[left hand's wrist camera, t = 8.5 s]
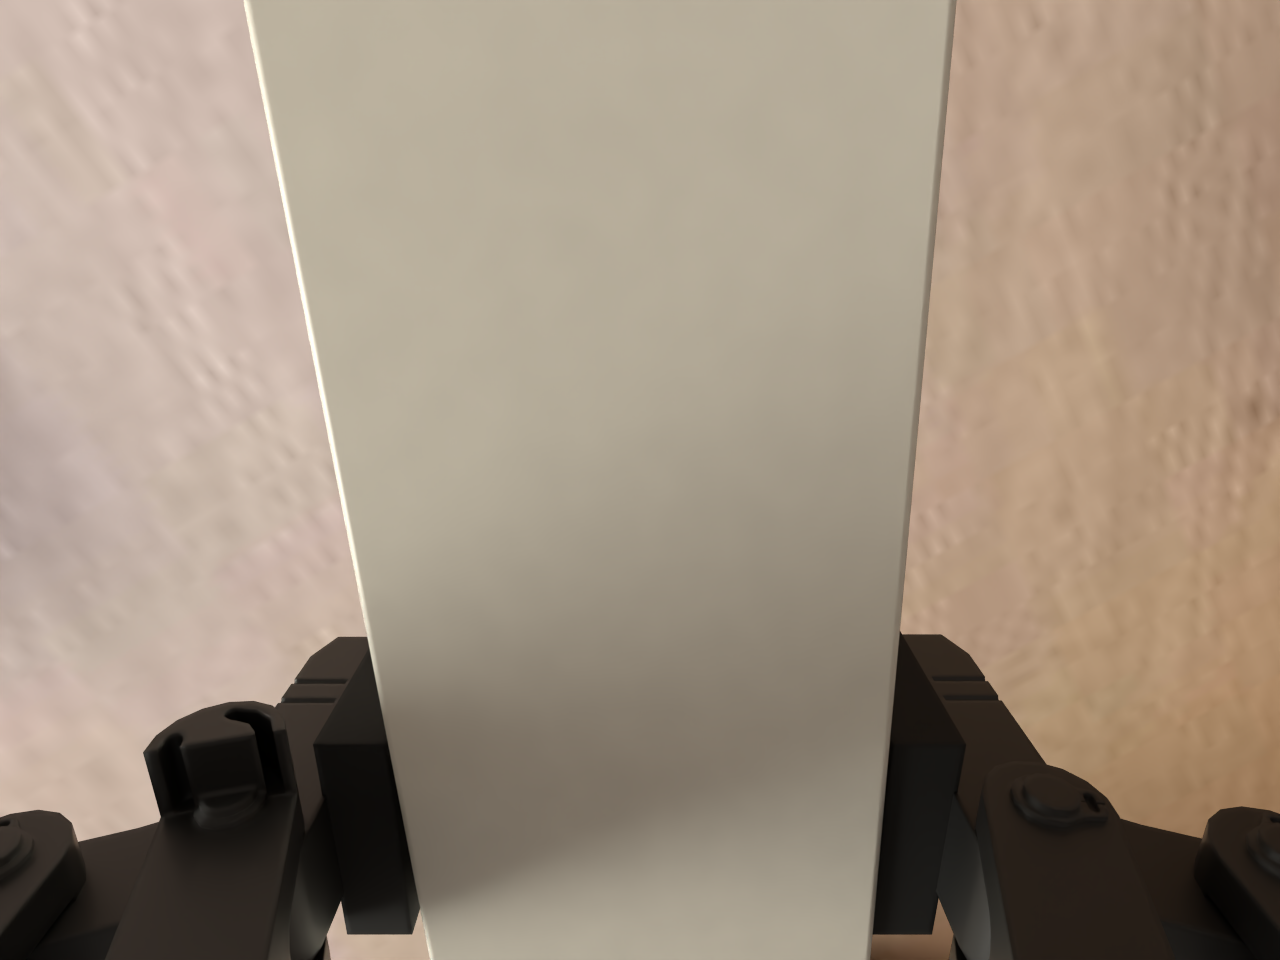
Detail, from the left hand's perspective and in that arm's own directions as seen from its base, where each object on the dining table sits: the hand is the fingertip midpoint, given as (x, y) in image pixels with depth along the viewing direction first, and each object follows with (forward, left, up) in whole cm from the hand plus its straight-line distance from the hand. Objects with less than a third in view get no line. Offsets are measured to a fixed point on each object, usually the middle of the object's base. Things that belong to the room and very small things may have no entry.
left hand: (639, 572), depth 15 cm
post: (+30, 0, -1) cm, 30 cm away
